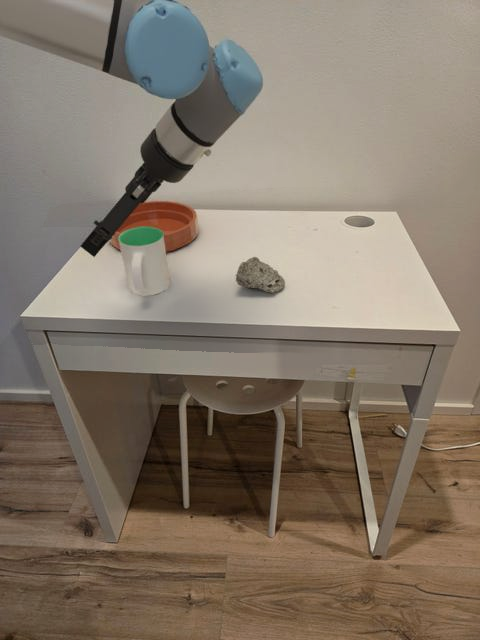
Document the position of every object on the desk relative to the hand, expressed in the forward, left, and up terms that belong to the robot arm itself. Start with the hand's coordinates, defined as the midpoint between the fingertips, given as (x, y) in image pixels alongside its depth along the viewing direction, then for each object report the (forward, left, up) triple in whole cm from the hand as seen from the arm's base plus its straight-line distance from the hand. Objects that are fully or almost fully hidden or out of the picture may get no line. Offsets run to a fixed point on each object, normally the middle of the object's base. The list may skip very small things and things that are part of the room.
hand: (105, 228), depth 76 cm
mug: (+5, -1, -13) cm, 14 cm away
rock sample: (+27, -4, -13) cm, 31 cm away
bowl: (+7, +23, -13) cm, 28 cm away
